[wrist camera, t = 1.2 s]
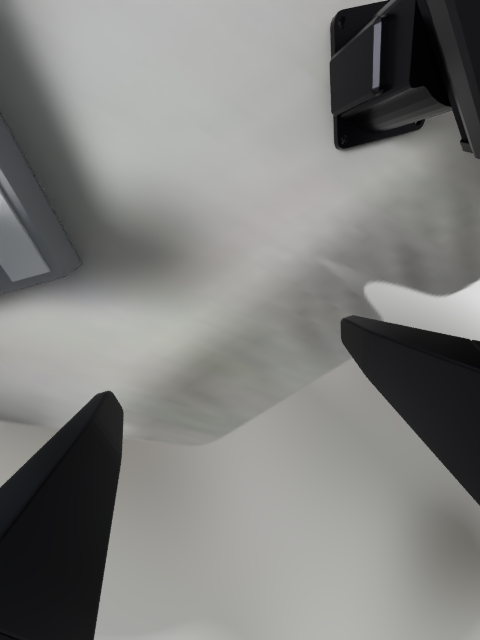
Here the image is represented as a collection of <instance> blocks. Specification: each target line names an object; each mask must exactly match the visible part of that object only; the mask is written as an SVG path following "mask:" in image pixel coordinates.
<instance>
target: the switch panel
mask: <svg viewBox="0 0 480 640" xmlns="http://www.w3.org/2000/svg"><path fill="white" fill-rule="evenodd" d="M80 265H82V263H81V261H80V259H79V257H78V256H77V254H76V252H75V250H74V248H73V246H72V245H71V243H70V241H69V239H68V237H67V235H66V234H65V232H64V230H63V228H62V226H61V224H60V223H59V221H58V219H57V217H56V215H55V213H54V212H53V210H52V208H51V206H50V204H49V202H48V201H47V199H46V197H45V195H44V193H43V191H42V189H41V188H40V186H39V184H38V182H37V180H36V178H35V177H34V175H33V173H32V171H31V169H30V167H29V166H28V164H27V162H26V160H25V158H24V156H23V155H22V153H21V151H20V149H19V147H18V145H17V144H16V142H15V140H14V138H13V136H12V134H11V133H10V131H9V129H8V127H7V125H6V123H5V122H4V120H3V118H2V116H1V114H0V294H4V293H7V292H11V291H15V290H18V289H22V288H25V287H29V286H33V285H36V284H40V283H43V282H47V281H51V280H54V279H58V278H62V277H65V276H66V275H68V274H69V273H70V272H72V271H73V270H75V269H76V268H77V267H79V266H80Z"/></svg>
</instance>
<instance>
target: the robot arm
mask: <svg viewBox="0 0 480 640" xmlns="http://www.w3.org/2000/svg"><path fill="white" fill-rule="evenodd" d="M338 20H339V21H341V22H342V29H340V28H339V26H338ZM330 33H331V61H330V86H331V112H332V114H333V119H334V144H335V147H336V148H337V149H339V150H342V149H346V148H350V147H353V146H357V145H361V144H365V143H369V142H373V141H377V140H381V139H384V138H388V137H392V136H396V135H400V134H404V133H408V132H411V131H415V130H418V129H420V128H421V127H422V126H423V124H424V121H425V119H426V118H429V117H432V116H435V115H439V114H442V113H445V112H448V111H451V110H453V113H454V116H455V119H456V122H457V125H458V128H459V131H460V134H461V137H462V139H461V140H460V143H461V146H462V149H463V151H466V152H470V153H474V155H475V157H476V158H478V159H480V0H387V1H382V2H377V3H372V4H368V5H363V6H358V7H353V8H348V9H344V10H341V11H339V12H338V13H337V14H336V15H335V17H334V18H333V19H332V22H331V27H330ZM416 121H417V124H415V122H416ZM342 137H344V140H345V141H344V144H342V143H341V138H342ZM341 340H342V342H343V344H344V346H345V347H346V349H347V350H348V352H349V353H350V354H351V356H352V357H353V359H354V360H355V362H356V363H357V364H358V366H359V367H360V369H361V370H362V371H363V373H364V374H365V375H366V377H367V378H368V379H369V380H370V382H371V383H372V384H373V385H374V386H375V387H376V388H377V390H378V391H379V392H380V393H381V394H382V395H383V396H384V397H385V399H386V400H387V401H388V402H389V403H390V404H391V405H392V407H393V408H394V409H395V410H396V411H397V412H398V413H399V415H401V417H402V418H403V419H404V420H405V421H406V422H407V424H408V425H409V426H410V427H411V428H412V429H413V430H414V432H415V433H416V434H417V435H418V436H419V437H420V438H421V440H422V441H423V442H424V443H425V444H426V445H427V446H428V447H429V449H430V450H431V451H432V452H433V453H434V454H435V455H436V457H438V459H439V460H440V461H441V462H442V463H443V465H444V466H445V467H446V468H447V469H448V470H449V471H450V472H451V473H452V475H453V476H454V477H455V478H456V479H457V480H458V482H459V483H460V484H461V485H462V486H463V487H464V488H465V489H466V491H467V492H468V493H469V494H470V495H471V496H472V497H473V499H474V500H476V502H477V503H478V504H479V505H480V341H476V340H472V341H471V340H470V339H466V338H461V337H456V336H451V335H446V334H442V333H437V332H432V331H427V330H422V329H417V328H412V327H407V326H403V325H398V324H392V323H387V322H383V321H378V320H373V319H369V318H364V317H359V316H354V315H353V316H349V317H345V318H343V319H342V320H341ZM122 440H123V409H122V407H121V405H120V403H119V402H118V400H117V399H116V397H115V395H114V394H113V393H112V392H111V391H105V392H102V393H99V394H97V395H95V396H94V397H93V398H92V399H91V400H90V401H89V402H88V403H87V404H86V405H85V406H84V407H83V408H82V409H81V410H80V411H79V412H78V413H77V414H76V415H75V416H74V417H73V418H72V419H71V420H70V421H69V422H68V423H66V424H65V425H64V426H63V427H62V428H61V429H60V430H59V431H58V432H57V433H56V434H55V435H54V436H53V437H52V438H51V439H50V440H49V441H48V442H47V443H46V444H45V445H44V446H43V447H42V448H41V449H40V450H39V451H38V452H37V453H35V454H34V455H33V456H32V457H31V458H30V459H29V460H28V461H27V462H26V463H25V464H24V465H23V466H22V467H21V468H20V469H19V470H18V471H17V472H16V473H15V474H14V475H13V476H12V477H11V478H10V479H9V480H8V481H7V482H6V483H5V484H4V485H2V486H1V488H0V640H94V634H95V628H96V621H97V615H98V608H99V602H100V595H101V589H102V582H103V575H104V570H105V563H106V557H107V550H108V544H109V537H110V530H111V524H112V518H113V511H114V505H115V498H116V492H117V485H118V479H119V472H120V466H121V458H122Z"/></svg>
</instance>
